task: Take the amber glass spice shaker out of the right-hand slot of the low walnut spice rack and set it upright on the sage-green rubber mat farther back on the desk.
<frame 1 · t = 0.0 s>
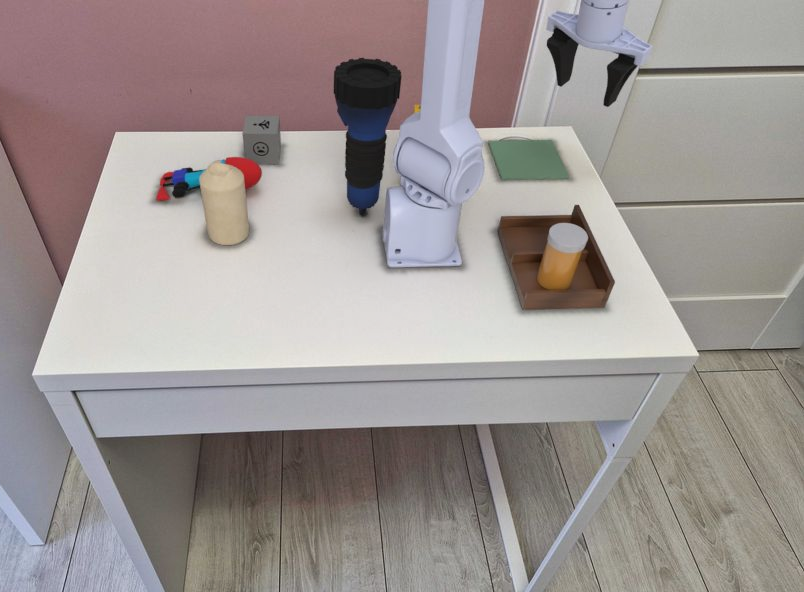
hand: (586, 92, 98), 11 cm above the table, tool pointing down, fingers open, 7 cm apart
toy figure: (211, 190, 99), on the table
candle: (228, 233, 92), on the table
dice cube: (263, 155, 105), on the table
supplement box: (427, 186, 100), on the table
spice rack: (548, 267, 88), on the table
green mat: (527, 160, 105), on the table
spice shaker: (553, 279, 85), point 1 cm above the table, touching spice rack
flashlight: (361, 213, 96), on the table
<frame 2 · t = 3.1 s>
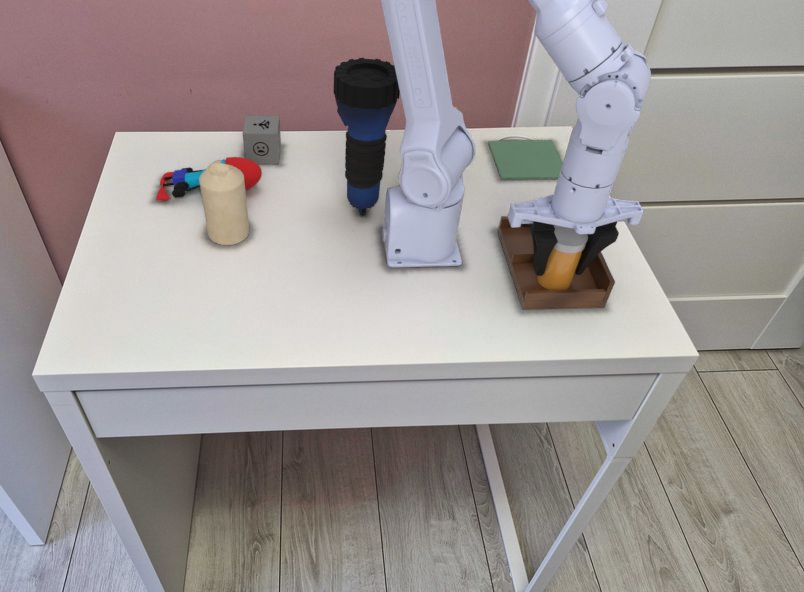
hand: (556, 269, 84), 3 cm above the table, tool pointing down, fingers closed on spice shaker, 4 cm apart
spice shaker: (553, 279, 85), point 1 cm above the table, touching gripper, spice rack
everything else where it was.
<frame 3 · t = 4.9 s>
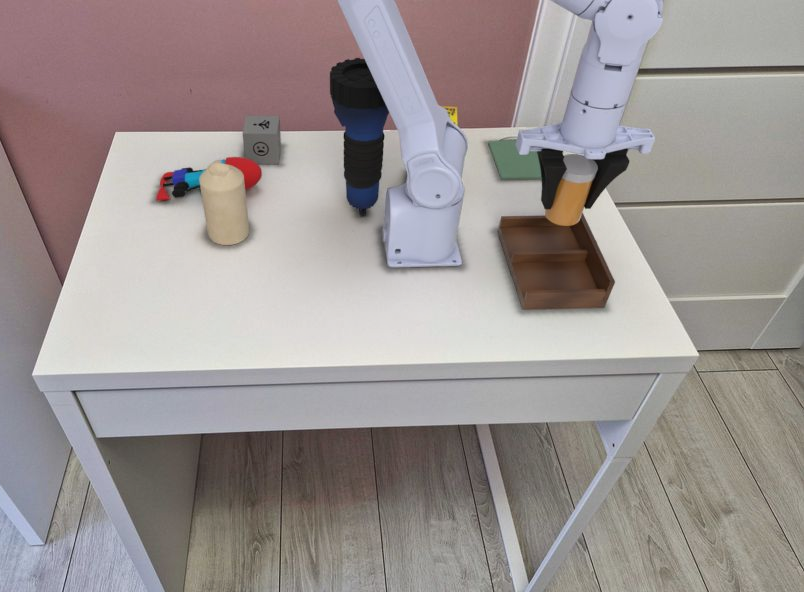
hand: (565, 204, 82), 9 cm above the table, tool pointing down, fingers closed on spice shaker, 4 cm apart
spice shaker: (562, 215, 83), point 8 cm above the table, touching gripper
everything else where it was.
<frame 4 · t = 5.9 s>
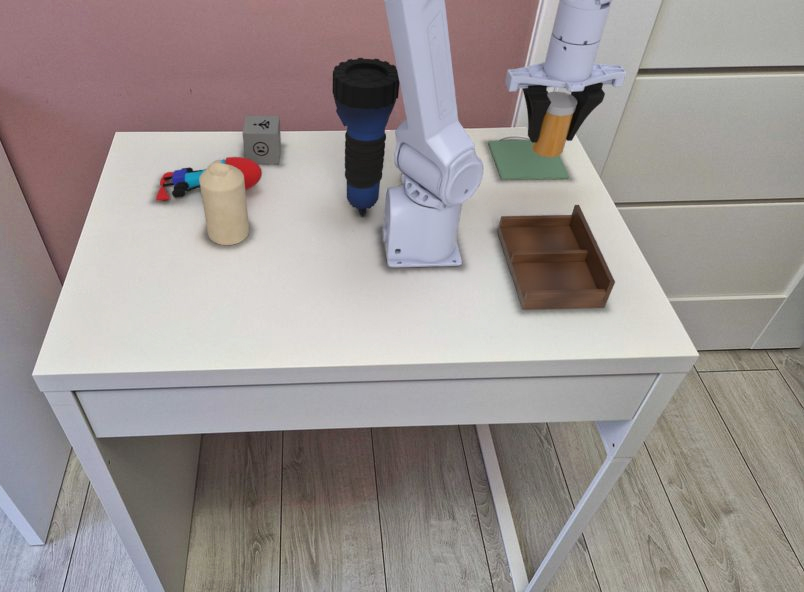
hand: (549, 137, 92), 9 cm above the table, tool pointing down, fingers closed on spice shaker, 4 cm apart
spice shaker: (547, 148, 93), point 8 cm above the table, touching gripper
everything else where it was.
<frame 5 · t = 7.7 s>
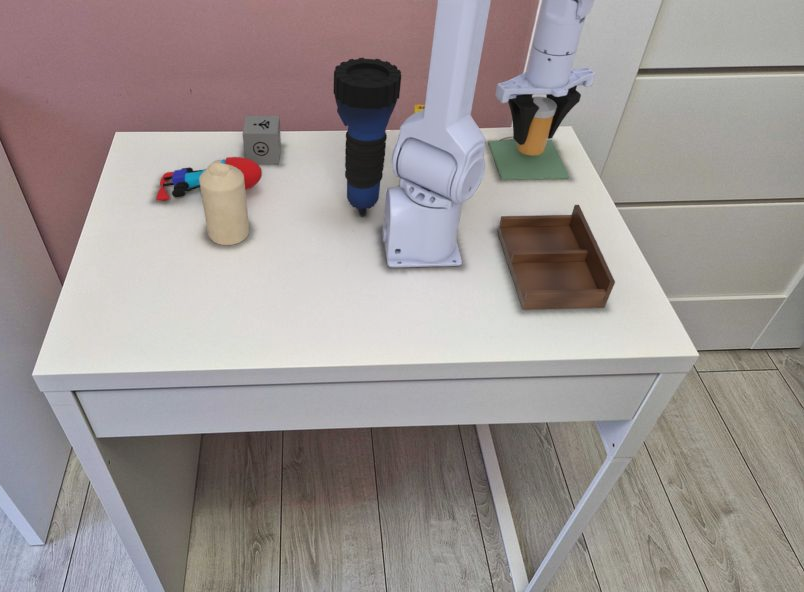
hand: (532, 138, 102), 4 cm above the table, tool pointing down, fingers closed on spice shaker, 4 cm apart
spice shaker: (530, 147, 103), point 2 cm above the table, touching gripper
everything else where it was.
when the fingers open (2 cm above the table, at t = 8.7 s): spice shaker stays where it is, resting on green mat.
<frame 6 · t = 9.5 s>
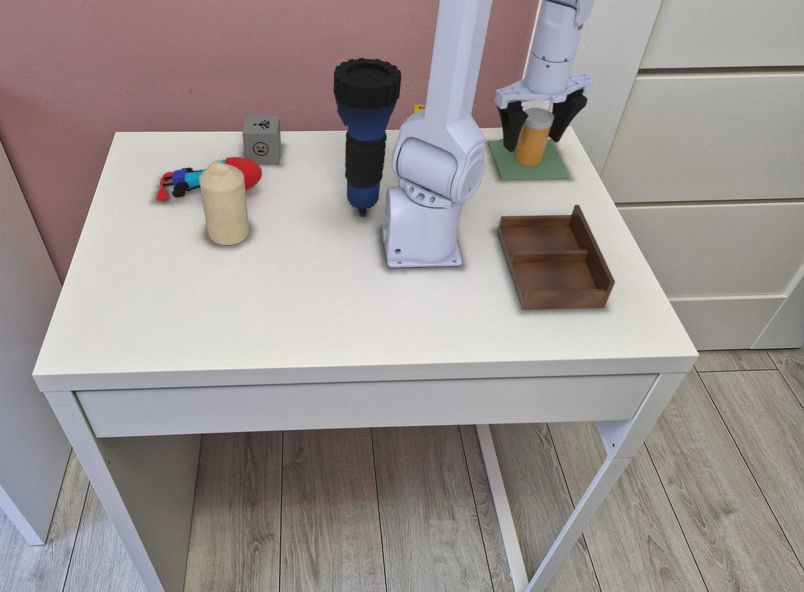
hand: (531, 143, 103), 3 cm above the table, tool pointing down, fingers open, 7 cm apart
spice shaker: (528, 158, 105), resting on green mat
everything else where it was.
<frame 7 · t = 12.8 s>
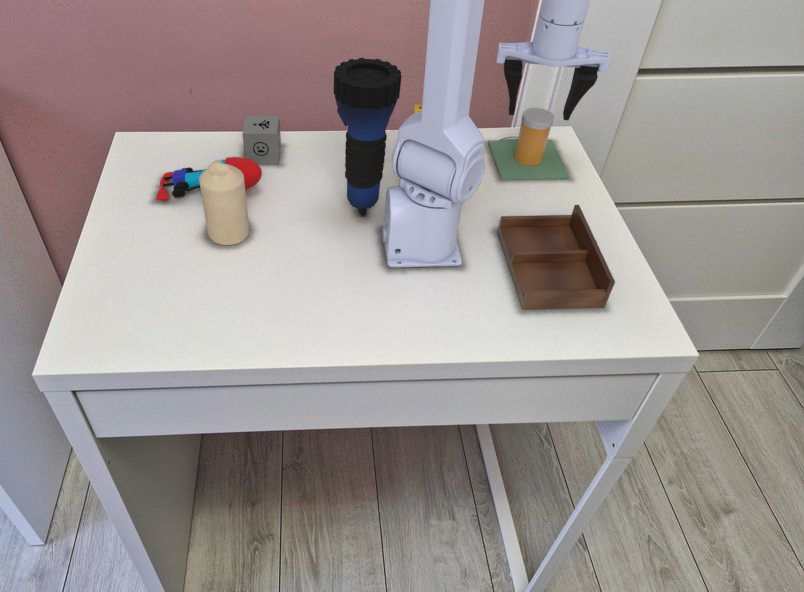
hand: (538, 114, 99), 8 cm above the table, tool pointing down, fingers open, 7 cm apart
nothing on the table moved.
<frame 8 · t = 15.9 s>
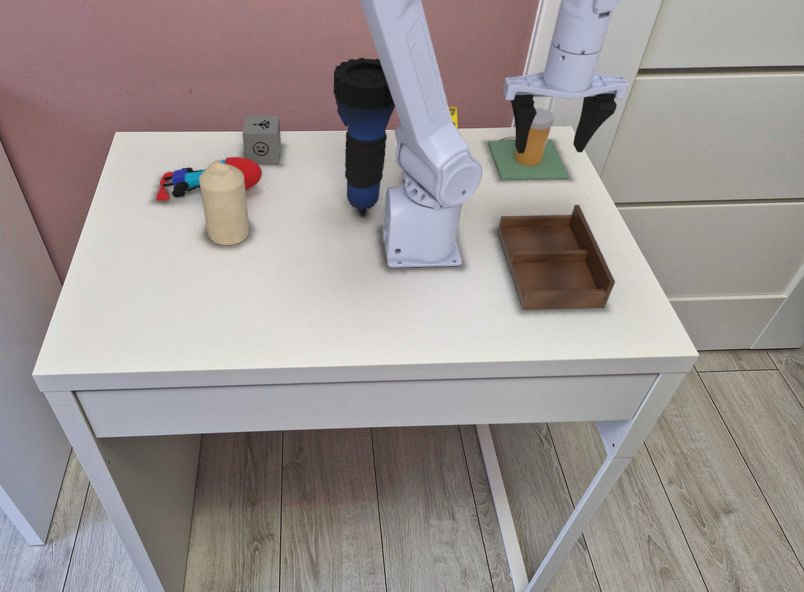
hand: (548, 148, 90), 9 cm above the table, tool pointing down, fingers open, 7 cm apart
nothing on the table moved.
at the end: spice shaker inside the target area on the green mat (0.1 cm from its centre), point 0.4 cm above the green mat's base; spice shaker tilted 0° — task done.
